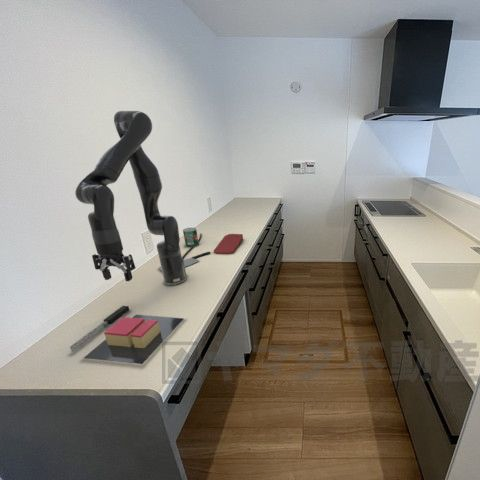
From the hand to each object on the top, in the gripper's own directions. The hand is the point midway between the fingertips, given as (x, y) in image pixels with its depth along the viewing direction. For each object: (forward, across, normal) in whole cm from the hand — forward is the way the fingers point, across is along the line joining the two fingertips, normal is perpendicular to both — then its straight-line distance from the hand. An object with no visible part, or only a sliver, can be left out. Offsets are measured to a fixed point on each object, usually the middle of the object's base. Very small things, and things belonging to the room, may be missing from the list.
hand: (118, 279), depth 100 cm
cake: (+14, -12, +14) cm, 23 cm away
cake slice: (+14, -19, +14) cm, 28 cm away
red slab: (+14, -11, -72) cm, 75 cm away
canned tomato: (+14, +14, -70) cm, 73 cm away
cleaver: (+14, +2, -46) cm, 49 cm away
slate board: (+15, -15, +13) cm, 25 cm away
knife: (+15, +1, +10) cm, 19 cm away
